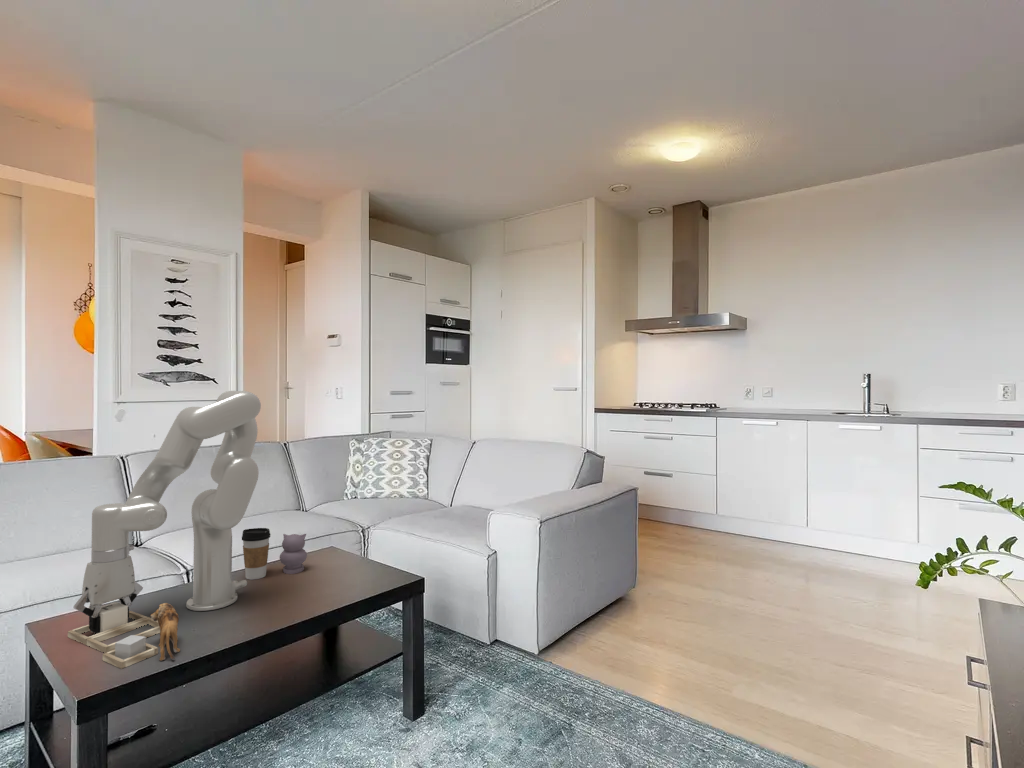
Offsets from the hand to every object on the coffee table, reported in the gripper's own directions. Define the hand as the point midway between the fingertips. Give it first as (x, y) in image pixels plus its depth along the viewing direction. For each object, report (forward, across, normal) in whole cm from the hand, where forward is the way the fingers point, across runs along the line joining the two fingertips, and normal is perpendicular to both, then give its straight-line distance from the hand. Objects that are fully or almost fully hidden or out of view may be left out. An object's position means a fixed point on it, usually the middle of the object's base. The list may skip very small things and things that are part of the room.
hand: (109, 626), depth 137 cm
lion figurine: (+1, -1, +22) cm, 22 cm away
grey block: (+1, +5, +19) cm, 20 cm away
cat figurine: (+1, -53, +4) cm, 53 cm away
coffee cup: (+1, -43, -2) cm, 43 cm away
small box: (+1, +5, +19) cm, 20 cm away
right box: (+1, 0, 0) cm, 1 cm away
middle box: (+1, 0, +9) cm, 9 cm away
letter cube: (+1, 0, 0) cm, 1 cm away
